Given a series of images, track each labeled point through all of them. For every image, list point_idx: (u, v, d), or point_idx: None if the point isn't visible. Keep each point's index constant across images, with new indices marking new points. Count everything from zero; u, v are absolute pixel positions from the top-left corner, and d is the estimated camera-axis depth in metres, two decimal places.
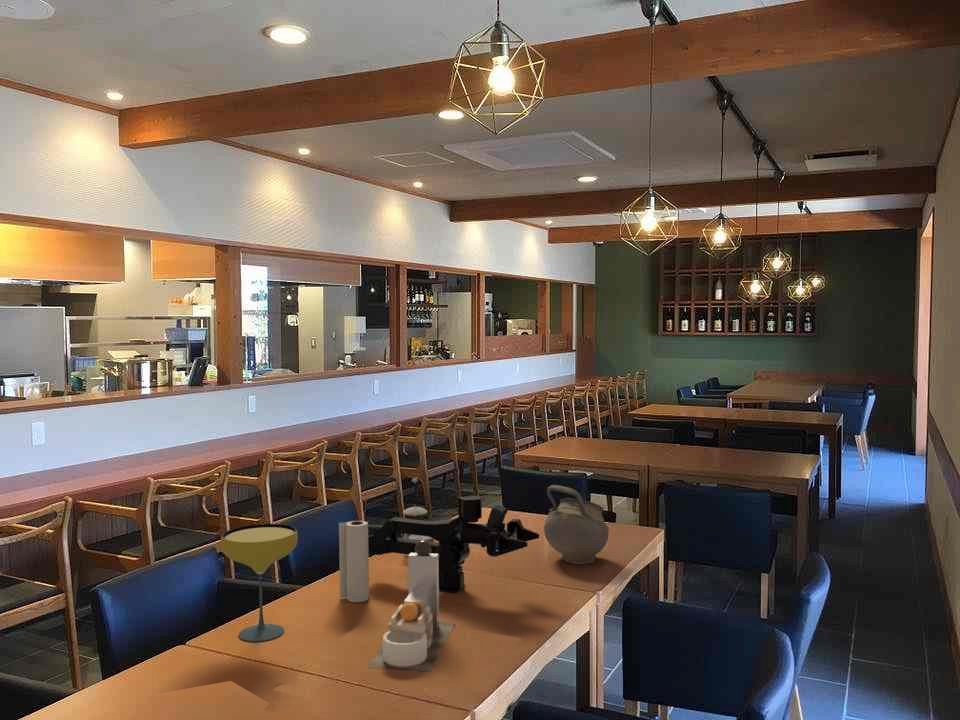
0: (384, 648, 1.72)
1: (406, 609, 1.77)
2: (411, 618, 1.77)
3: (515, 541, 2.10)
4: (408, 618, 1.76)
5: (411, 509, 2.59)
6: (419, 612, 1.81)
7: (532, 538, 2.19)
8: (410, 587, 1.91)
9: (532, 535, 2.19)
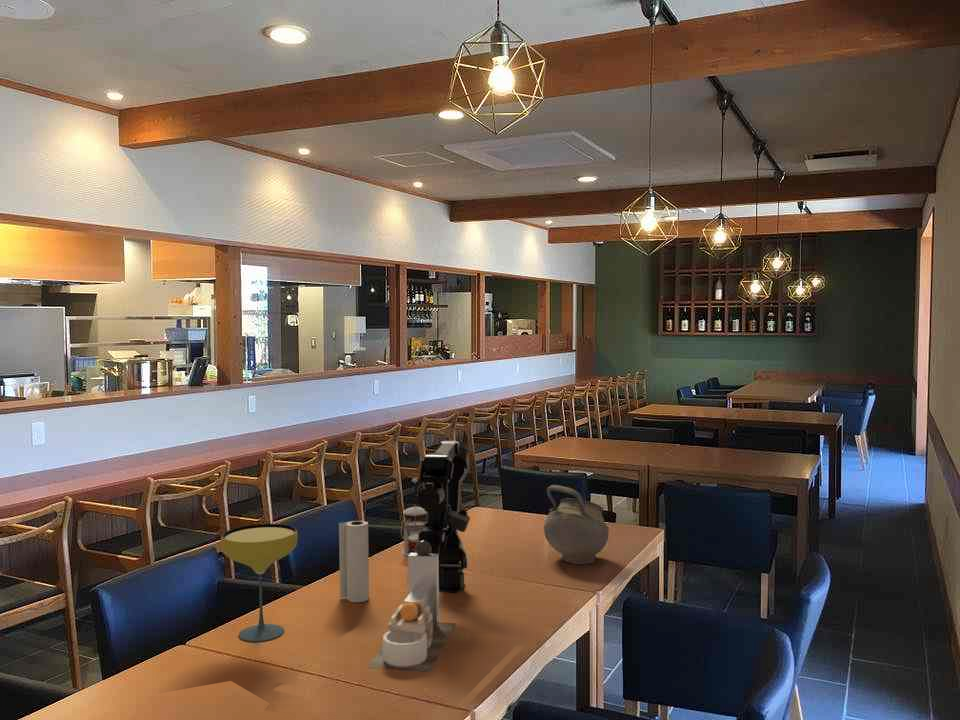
0: (384, 648, 1.72)
1: (406, 609, 1.77)
2: (411, 618, 1.77)
3: None
4: (408, 618, 1.76)
5: (411, 509, 2.59)
6: (419, 612, 1.81)
7: None
8: (410, 587, 1.91)
9: (440, 549, 2.11)
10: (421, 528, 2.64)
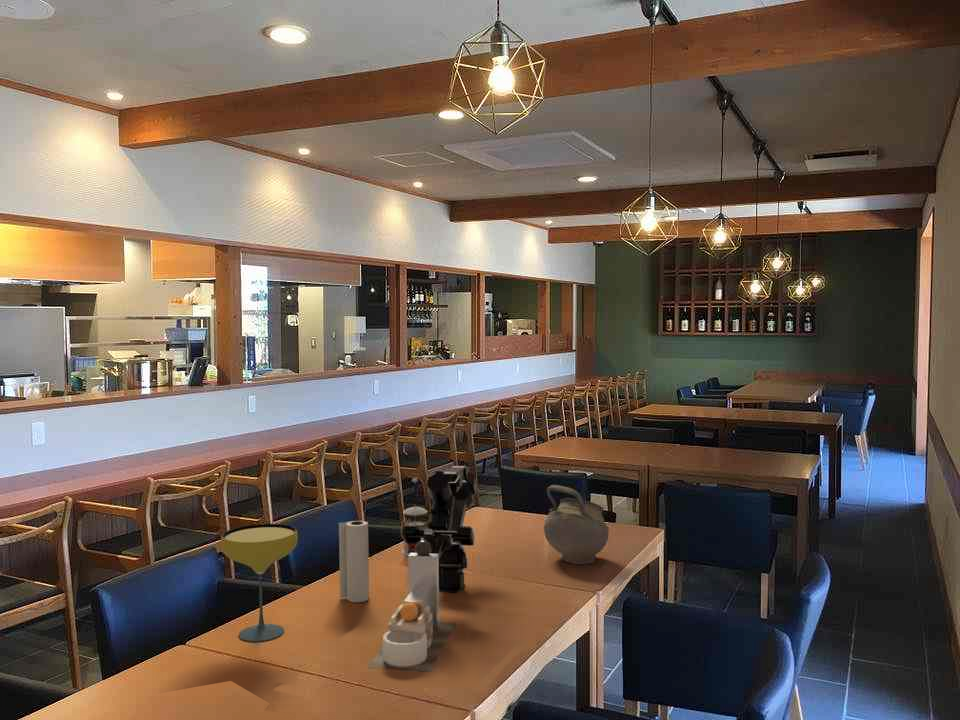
0: (384, 648, 1.72)
1: (406, 609, 1.77)
2: (411, 618, 1.77)
3: (440, 555, 2.06)
4: (408, 618, 1.76)
5: (411, 509, 2.59)
6: (419, 612, 1.81)
7: None
8: (410, 587, 1.91)
9: None
10: (421, 528, 2.64)
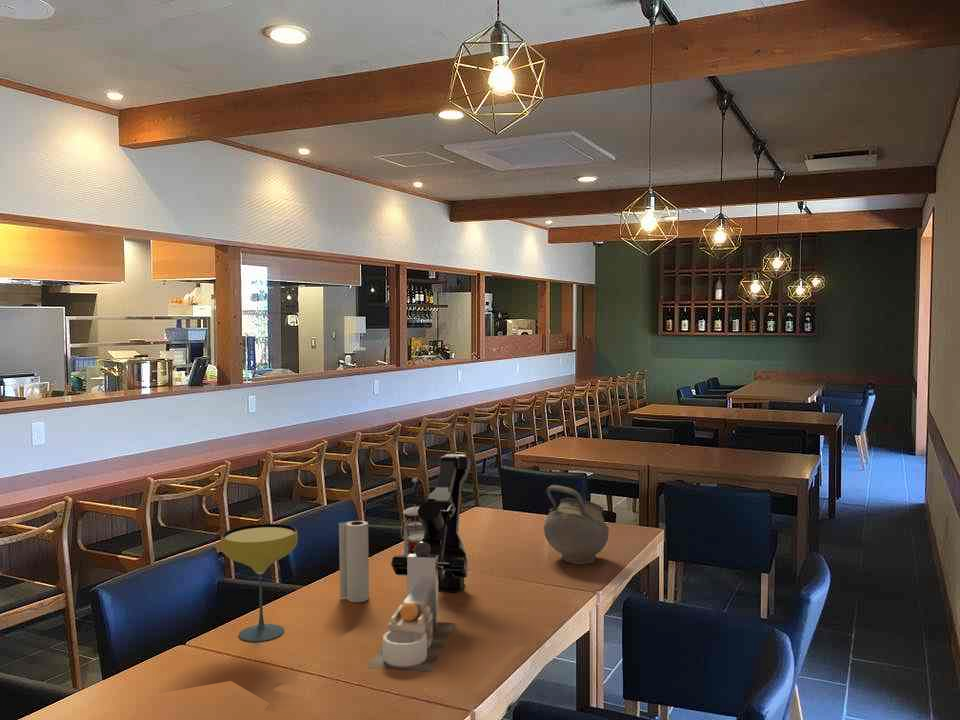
0: (384, 648, 1.72)
1: (406, 609, 1.77)
2: (411, 618, 1.77)
3: None
4: (408, 618, 1.76)
5: (411, 509, 2.59)
6: (418, 613, 1.80)
7: None
8: (409, 588, 1.91)
9: None
10: (421, 528, 2.64)
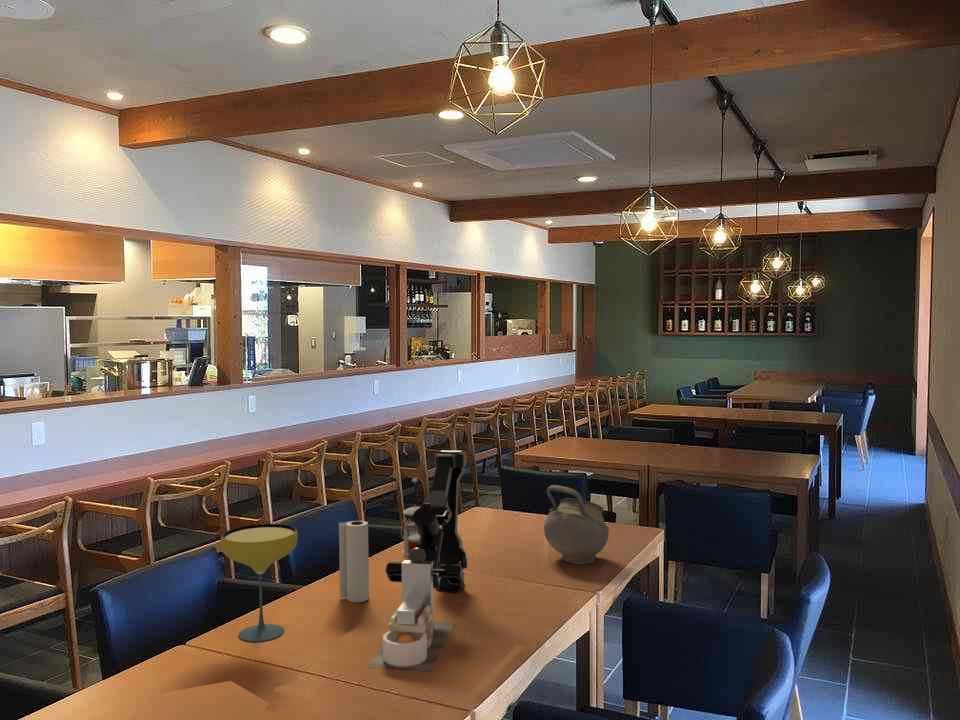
0: (384, 648, 1.72)
1: None
2: None
3: None
4: None
5: (411, 509, 2.59)
6: (412, 622, 1.75)
7: None
8: (403, 596, 1.85)
9: None
10: None
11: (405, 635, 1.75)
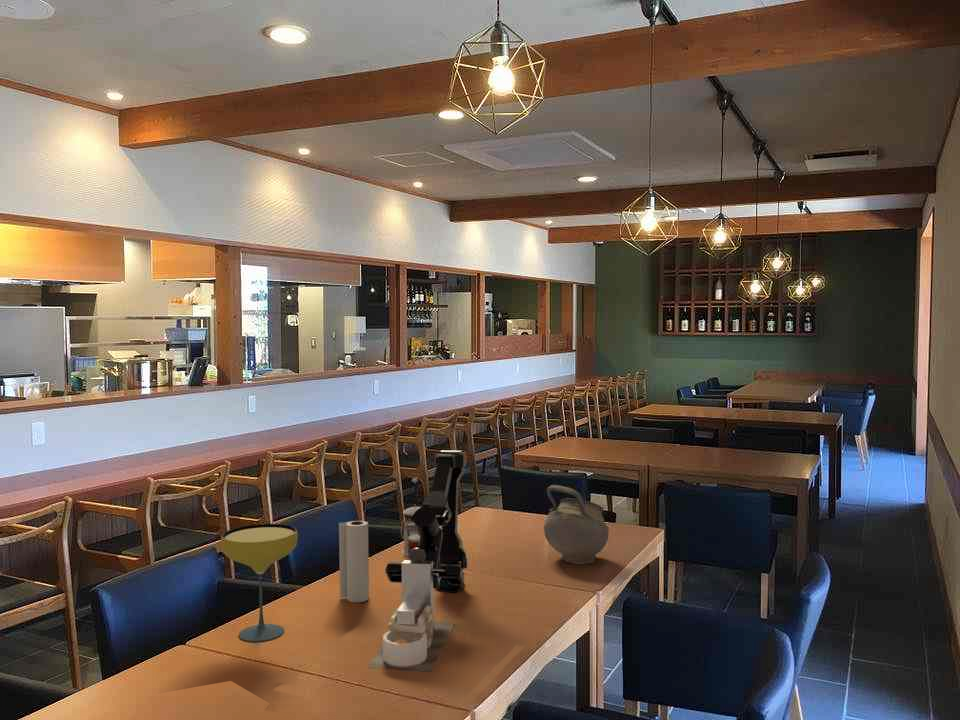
0: (384, 648, 1.72)
1: None
2: None
3: None
4: None
5: (411, 509, 2.59)
6: (412, 622, 1.75)
7: None
8: (403, 596, 1.85)
9: None
10: None
11: None
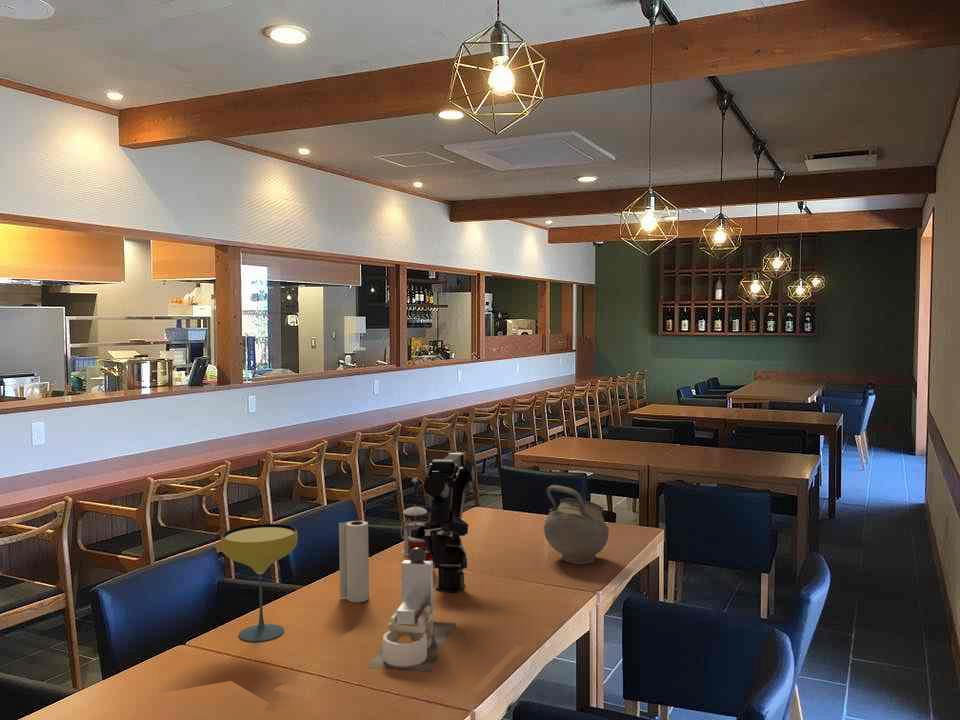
0: (384, 648, 1.72)
1: None
2: None
3: (442, 552, 2.07)
4: None
5: (411, 509, 2.59)
6: (412, 622, 1.75)
7: None
8: (403, 596, 1.85)
9: None
10: None
11: (404, 639, 1.74)
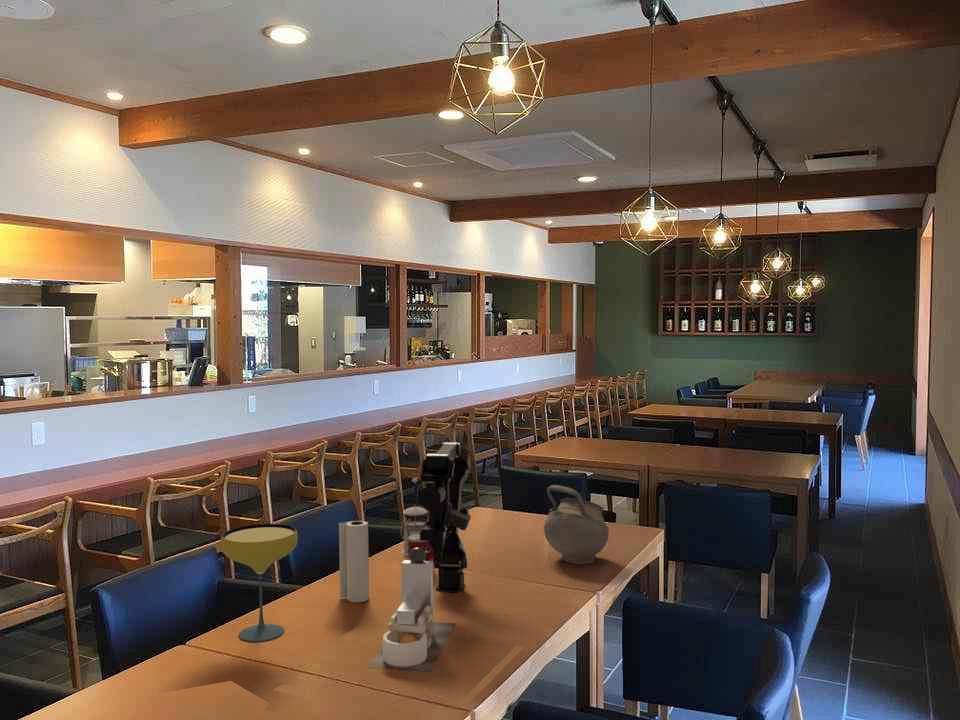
0: (384, 648, 1.72)
1: None
2: None
3: (440, 548, 2.08)
4: None
5: (411, 509, 2.59)
6: (412, 622, 1.75)
7: None
8: (403, 596, 1.85)
9: None
10: (421, 528, 2.64)
11: (411, 633, 1.76)
